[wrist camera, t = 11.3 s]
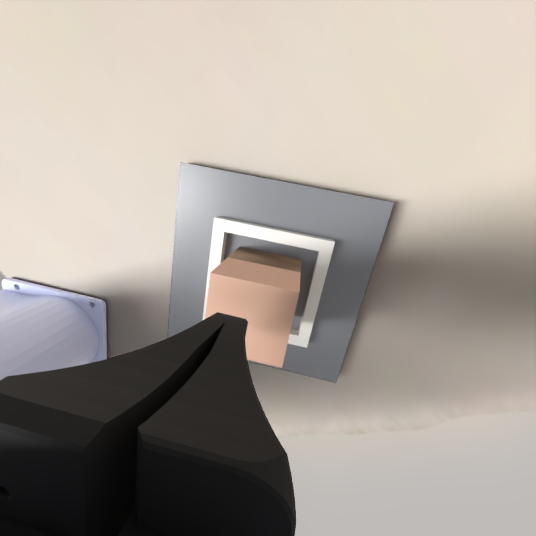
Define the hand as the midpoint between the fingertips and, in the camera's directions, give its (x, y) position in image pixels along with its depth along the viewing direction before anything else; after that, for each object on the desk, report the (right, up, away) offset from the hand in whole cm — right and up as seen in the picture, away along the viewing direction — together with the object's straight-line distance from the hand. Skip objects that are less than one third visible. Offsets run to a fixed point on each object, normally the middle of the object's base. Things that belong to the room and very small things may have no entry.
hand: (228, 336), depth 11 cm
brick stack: (+1, +2, +8) cm, 8 cm away
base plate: (+1, +2, +9) cm, 9 cm away
